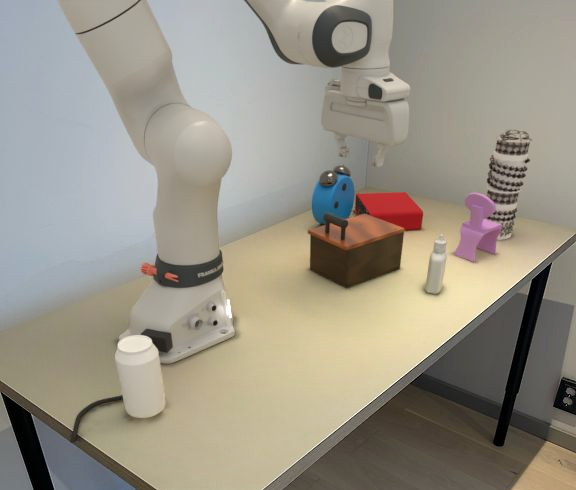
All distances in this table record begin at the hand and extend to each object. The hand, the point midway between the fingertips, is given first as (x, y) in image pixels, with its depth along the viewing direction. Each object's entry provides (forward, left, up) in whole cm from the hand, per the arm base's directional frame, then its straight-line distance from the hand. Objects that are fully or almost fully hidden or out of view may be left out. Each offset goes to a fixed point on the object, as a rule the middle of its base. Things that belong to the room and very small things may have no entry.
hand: (360, 161), depth 116 cm
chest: (+5, +2, -25) cm, 26 cm away
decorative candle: (+46, -16, -25) cm, 55 cm away
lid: (+4, +2, -16) cm, 17 cm away
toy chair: (+30, -17, -25) cm, 43 cm away
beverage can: (-60, +1, -25) cm, 65 cm away
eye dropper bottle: (+6, -17, -25) cm, 31 cm away
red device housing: (+39, +12, -25) cm, 48 cm away
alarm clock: (+27, +22, -25) cm, 43 cm away
